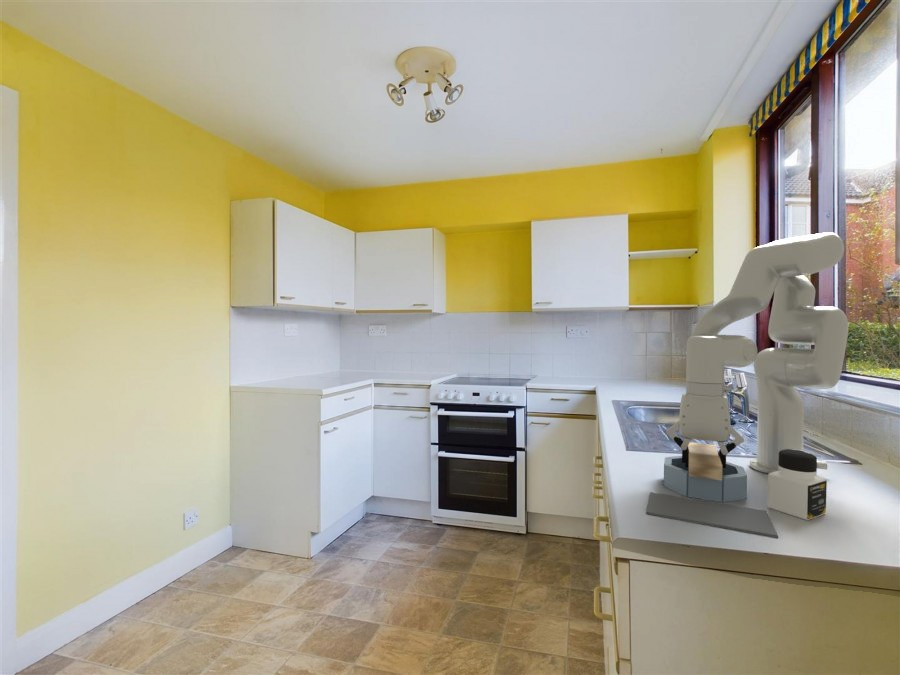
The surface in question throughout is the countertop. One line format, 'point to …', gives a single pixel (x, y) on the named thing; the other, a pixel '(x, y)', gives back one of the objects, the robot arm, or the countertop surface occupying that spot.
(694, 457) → the oak board
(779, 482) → the medicine bottle
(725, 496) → the ceramic bowl
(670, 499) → the rubber mat
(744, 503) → the countertop surface
